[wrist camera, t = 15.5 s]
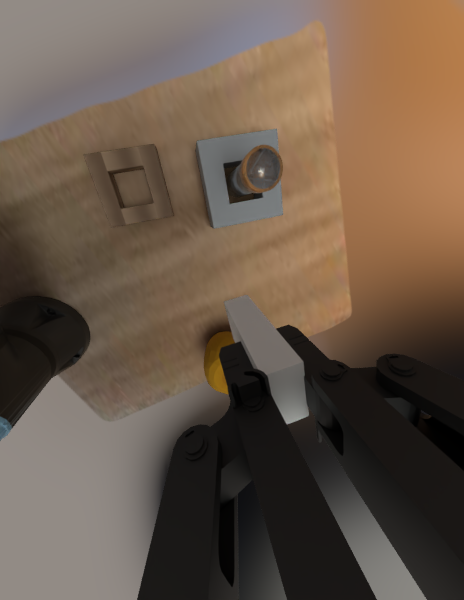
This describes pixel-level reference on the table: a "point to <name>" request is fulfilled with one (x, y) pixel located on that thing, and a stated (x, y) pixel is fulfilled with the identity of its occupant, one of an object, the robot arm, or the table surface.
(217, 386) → the apple
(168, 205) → the mount
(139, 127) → the table surface
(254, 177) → the pin
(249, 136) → the socket
